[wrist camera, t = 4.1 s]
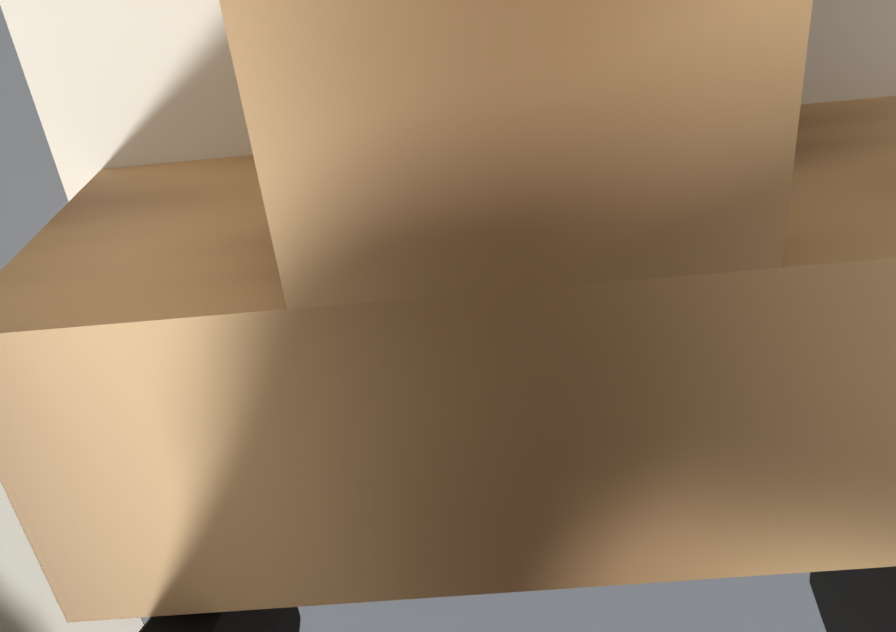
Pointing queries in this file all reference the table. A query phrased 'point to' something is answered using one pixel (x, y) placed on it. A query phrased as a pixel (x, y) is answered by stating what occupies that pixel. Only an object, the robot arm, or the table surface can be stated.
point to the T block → (468, 318)
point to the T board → (226, 135)
